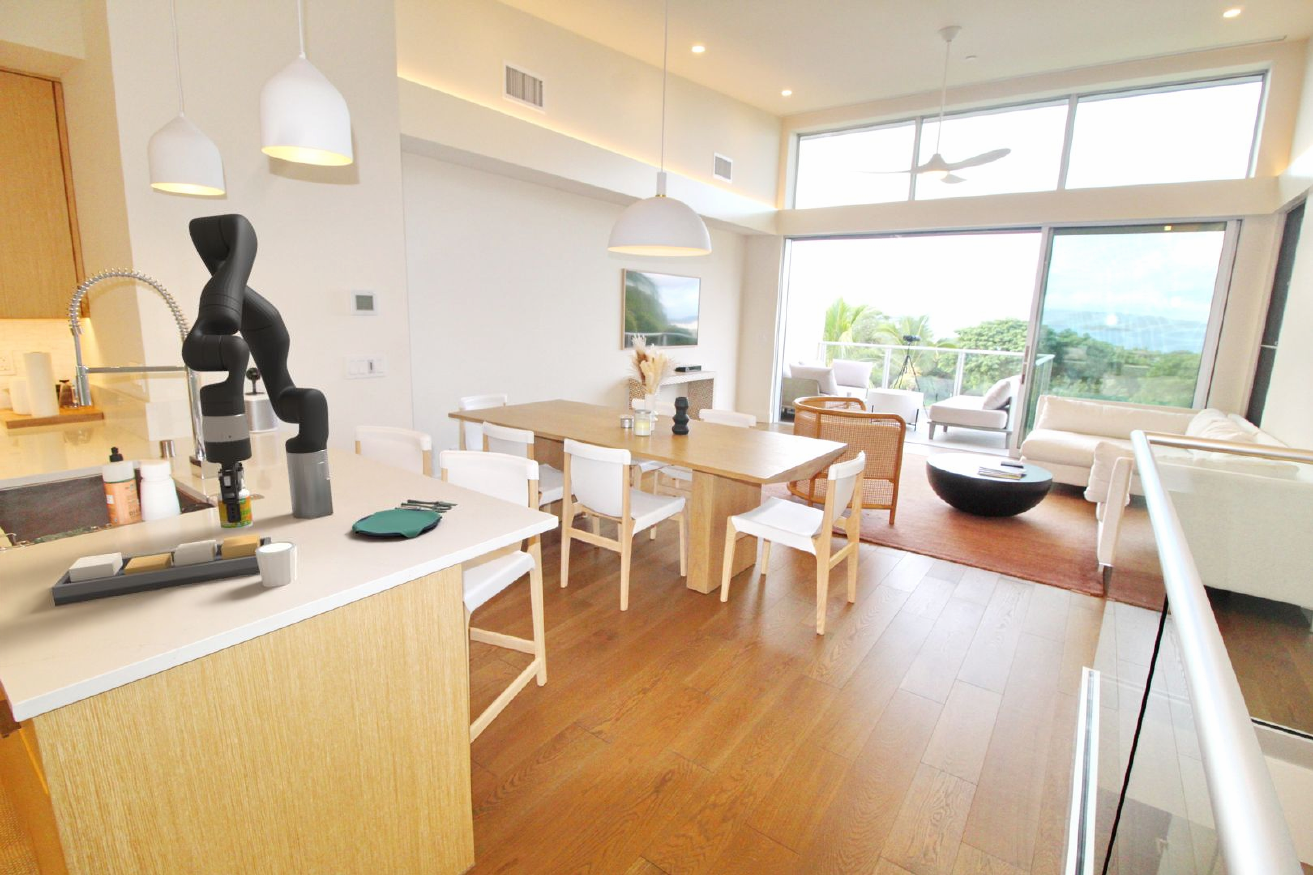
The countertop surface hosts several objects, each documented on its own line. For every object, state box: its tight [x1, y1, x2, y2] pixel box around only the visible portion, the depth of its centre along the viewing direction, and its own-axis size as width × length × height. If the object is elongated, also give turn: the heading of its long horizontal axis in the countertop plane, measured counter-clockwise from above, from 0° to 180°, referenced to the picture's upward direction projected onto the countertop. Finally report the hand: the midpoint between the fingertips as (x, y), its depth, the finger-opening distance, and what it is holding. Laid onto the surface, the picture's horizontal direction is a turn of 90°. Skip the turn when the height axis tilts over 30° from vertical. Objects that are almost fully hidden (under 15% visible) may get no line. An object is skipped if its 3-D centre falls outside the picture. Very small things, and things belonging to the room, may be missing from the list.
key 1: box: [221, 533, 261, 559], centre depth 123 cm, size 6×6×2 cm
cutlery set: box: [351, 498, 458, 539], centre depth 154 cm, size 20×30×2 cm, turn 174°
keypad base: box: [51, 536, 272, 607], centre depth 118 cm, size 32×12×4 cm, turn 120°
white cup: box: [255, 541, 298, 588], centre depth 116 cm, size 7×7×7 cm
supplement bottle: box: [216, 479, 254, 532], centre depth 121 cm, size 5×5×10 cm
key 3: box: [124, 553, 173, 575], centre depth 116 cm, size 6×6×2 cm
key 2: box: [174, 539, 217, 567], centre depth 120 cm, size 6×6×2 cm
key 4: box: [68, 551, 123, 582], centre depth 112 cm, size 6×6×2 cm
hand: (236, 517), depth 122 cm, fingers closed on supplement bottle, 5 cm apart
